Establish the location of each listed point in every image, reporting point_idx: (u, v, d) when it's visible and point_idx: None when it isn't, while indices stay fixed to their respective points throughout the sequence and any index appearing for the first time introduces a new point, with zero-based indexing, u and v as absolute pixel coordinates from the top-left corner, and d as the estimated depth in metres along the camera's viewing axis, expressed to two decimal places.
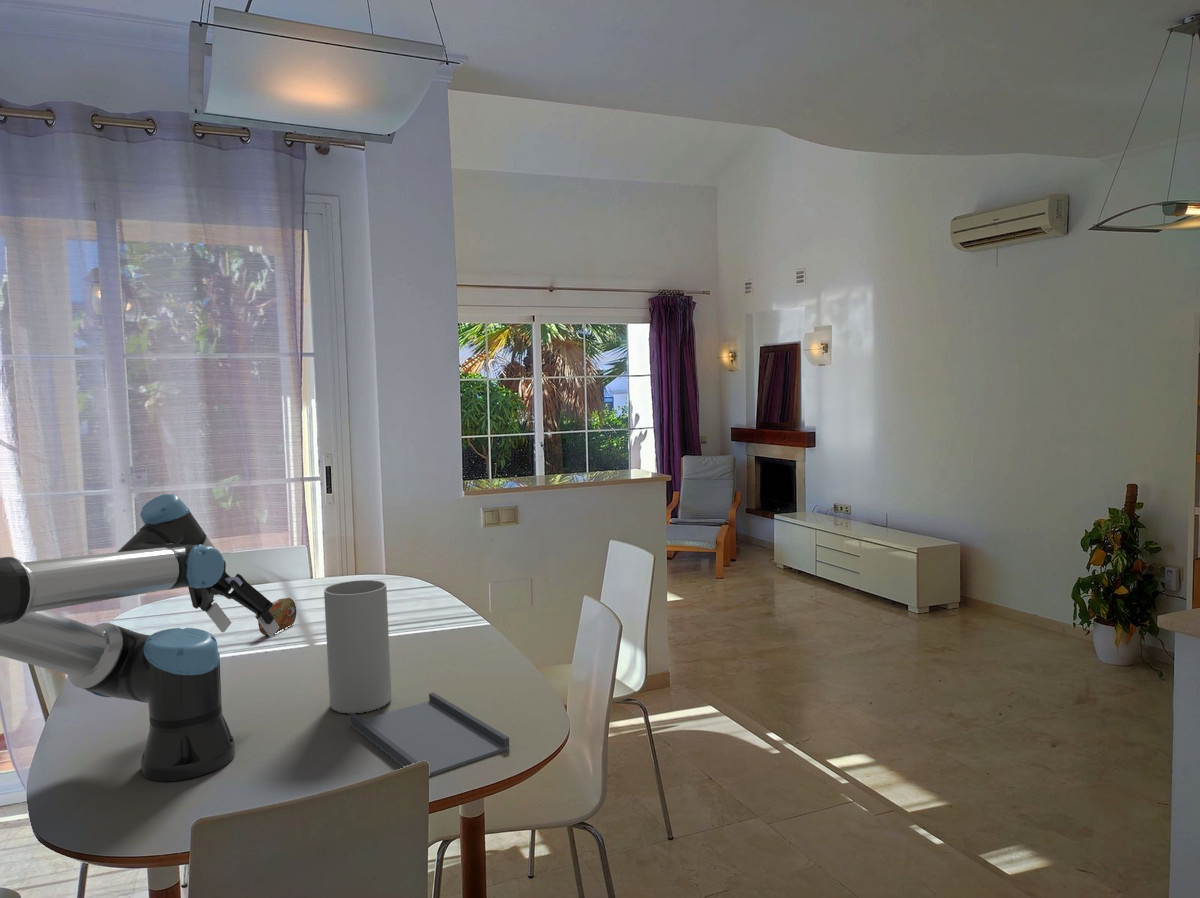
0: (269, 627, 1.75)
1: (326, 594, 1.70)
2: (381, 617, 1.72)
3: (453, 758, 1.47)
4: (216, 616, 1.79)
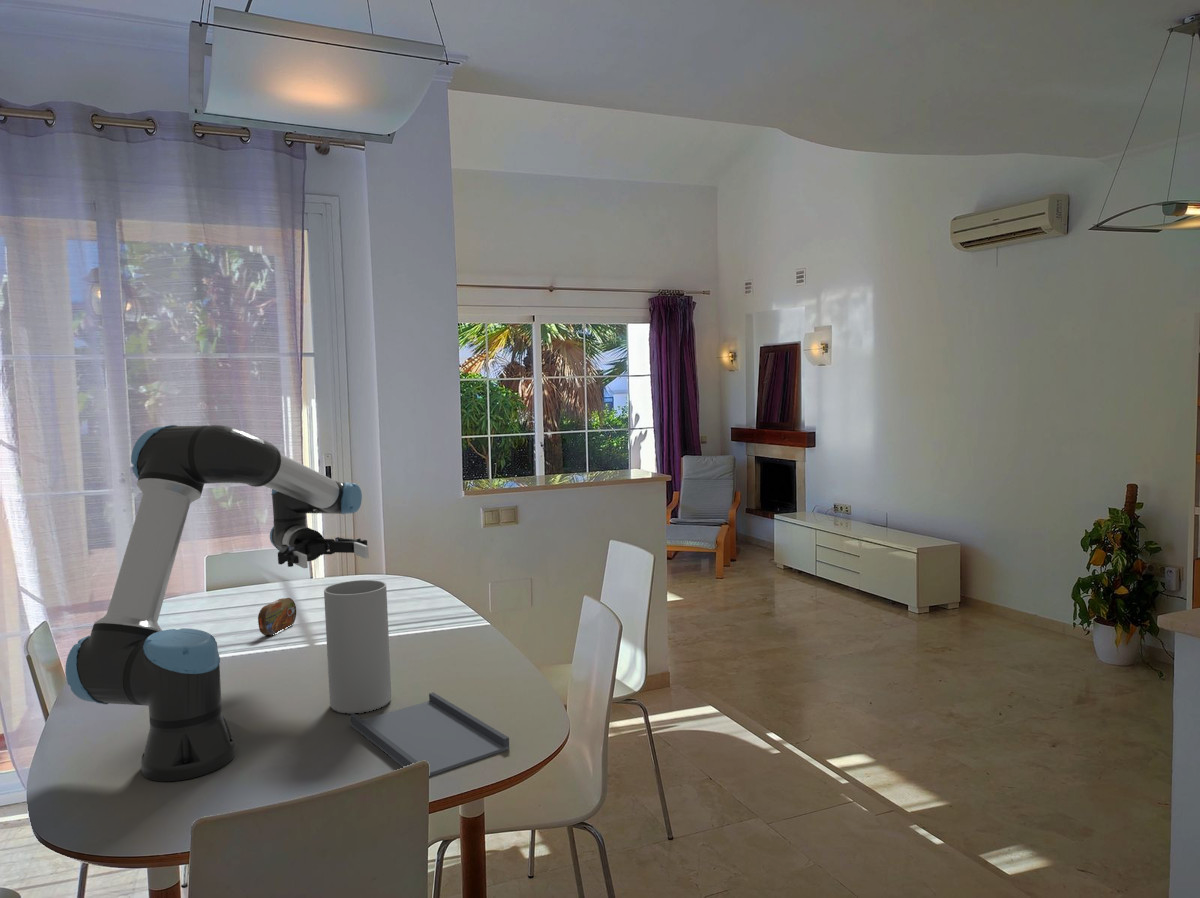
0: None
1: (326, 594, 1.70)
2: (381, 617, 1.72)
3: (453, 758, 1.47)
4: None
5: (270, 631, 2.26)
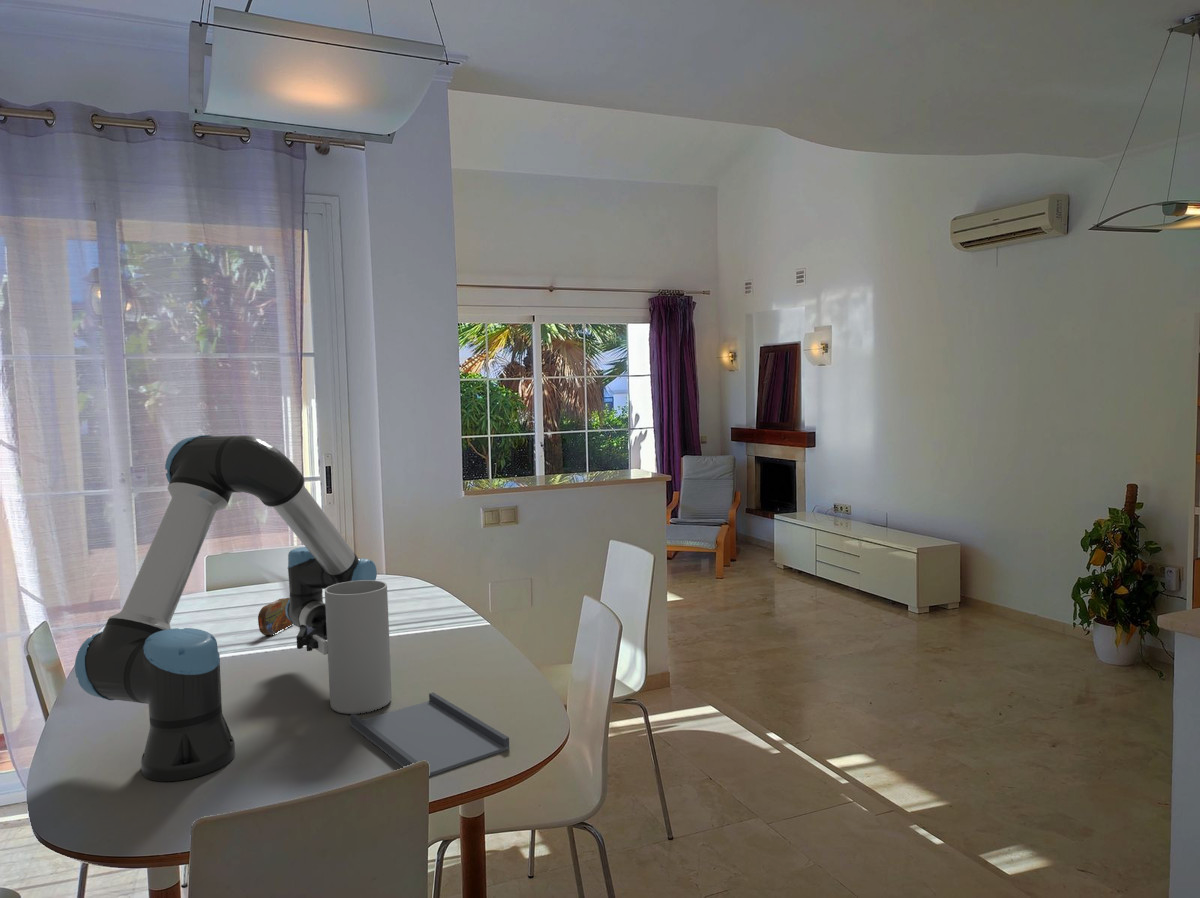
0: None
1: (327, 594, 1.70)
2: (382, 617, 1.72)
3: (453, 758, 1.47)
4: None
5: (270, 631, 2.26)
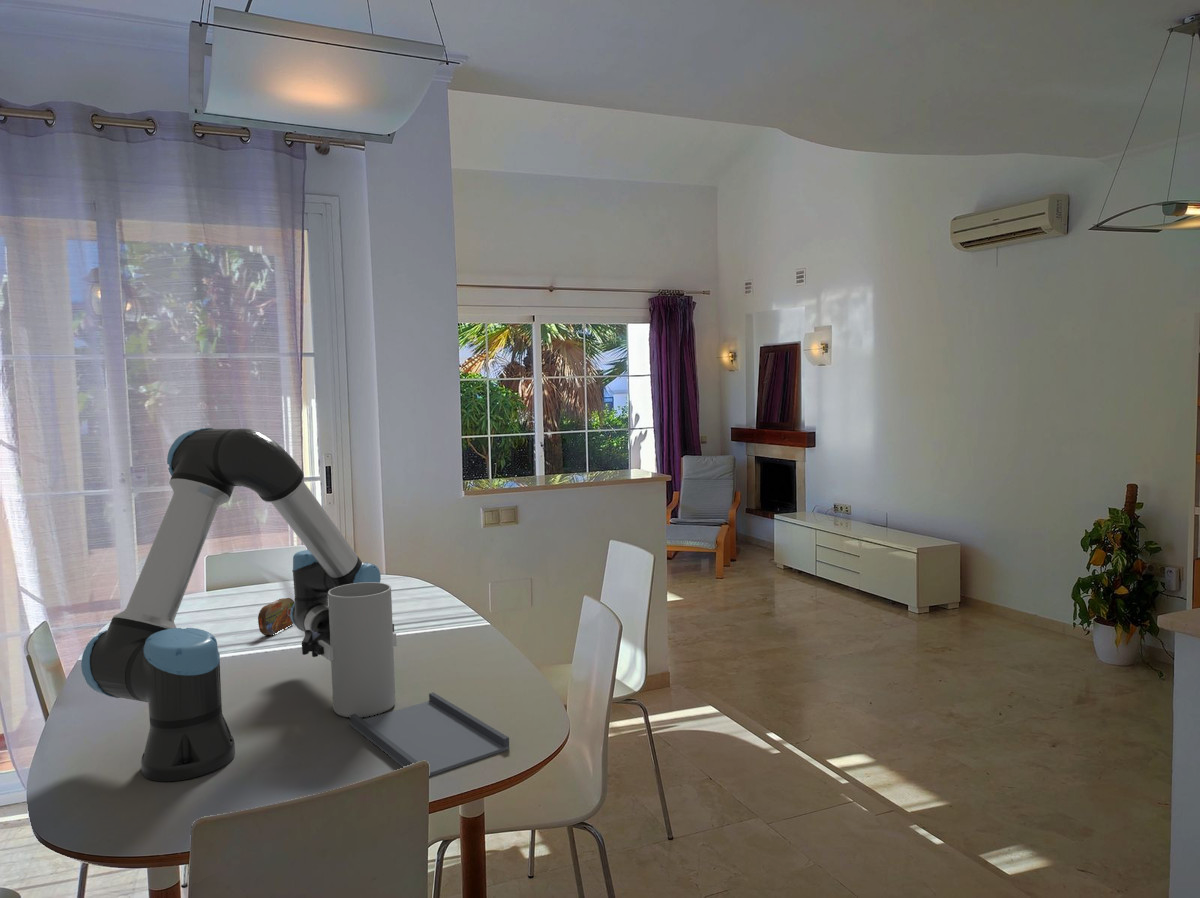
0: None
1: (337, 598, 1.66)
2: (391, 616, 1.72)
3: (453, 758, 1.47)
4: None
5: (270, 631, 2.26)
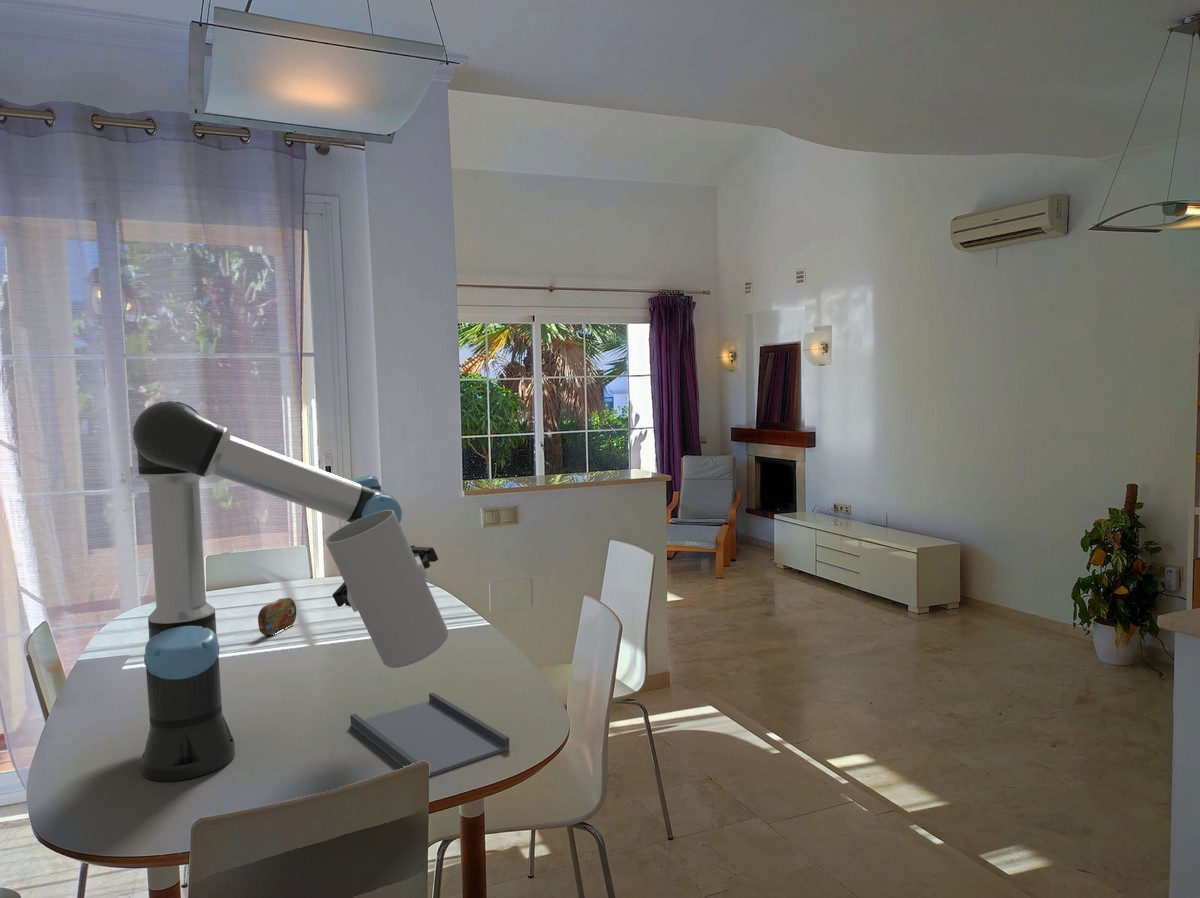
0: (422, 564, 1.50)
1: (329, 545, 1.40)
2: (402, 548, 1.43)
3: (453, 758, 1.47)
4: None
5: (270, 631, 2.26)
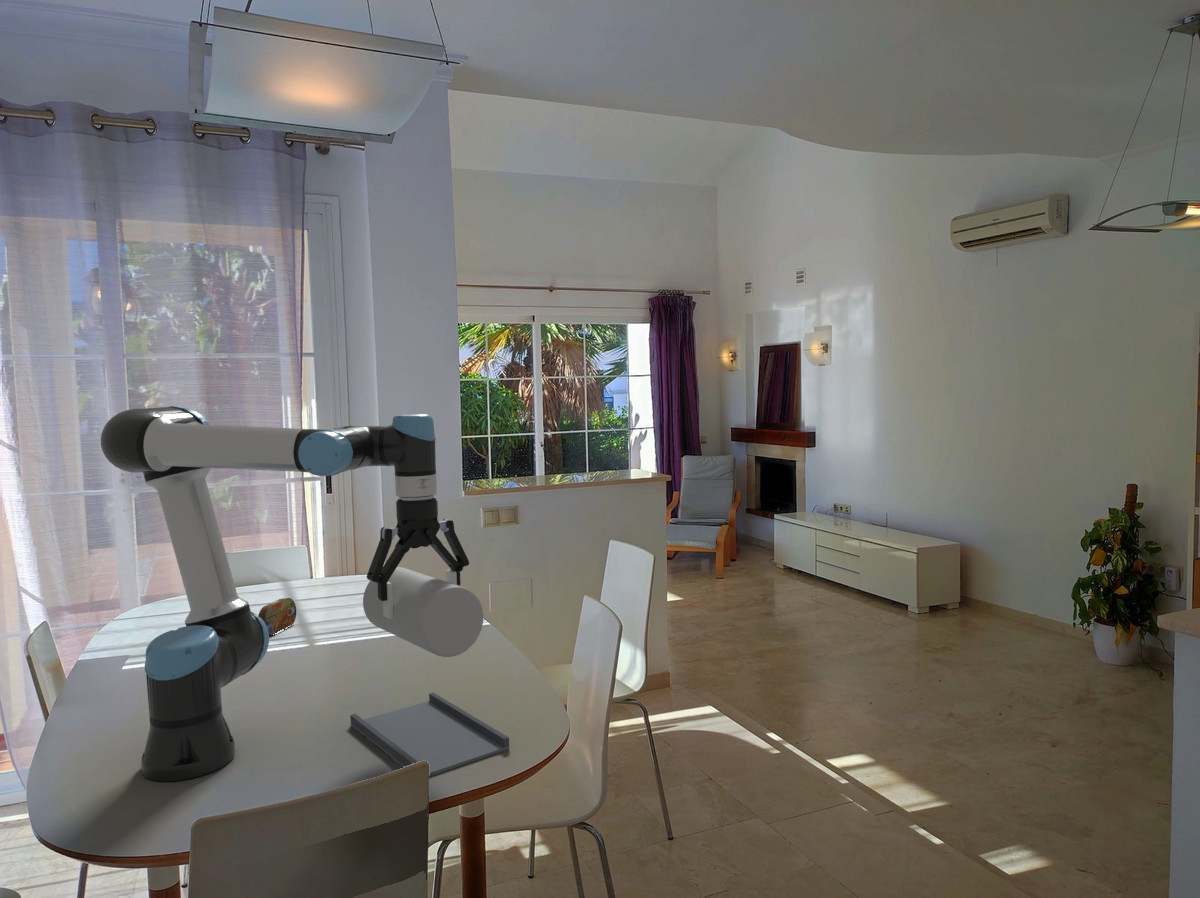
0: (384, 604, 1.52)
1: None
2: (382, 627, 1.58)
3: (453, 758, 1.47)
4: None
5: (270, 631, 2.26)
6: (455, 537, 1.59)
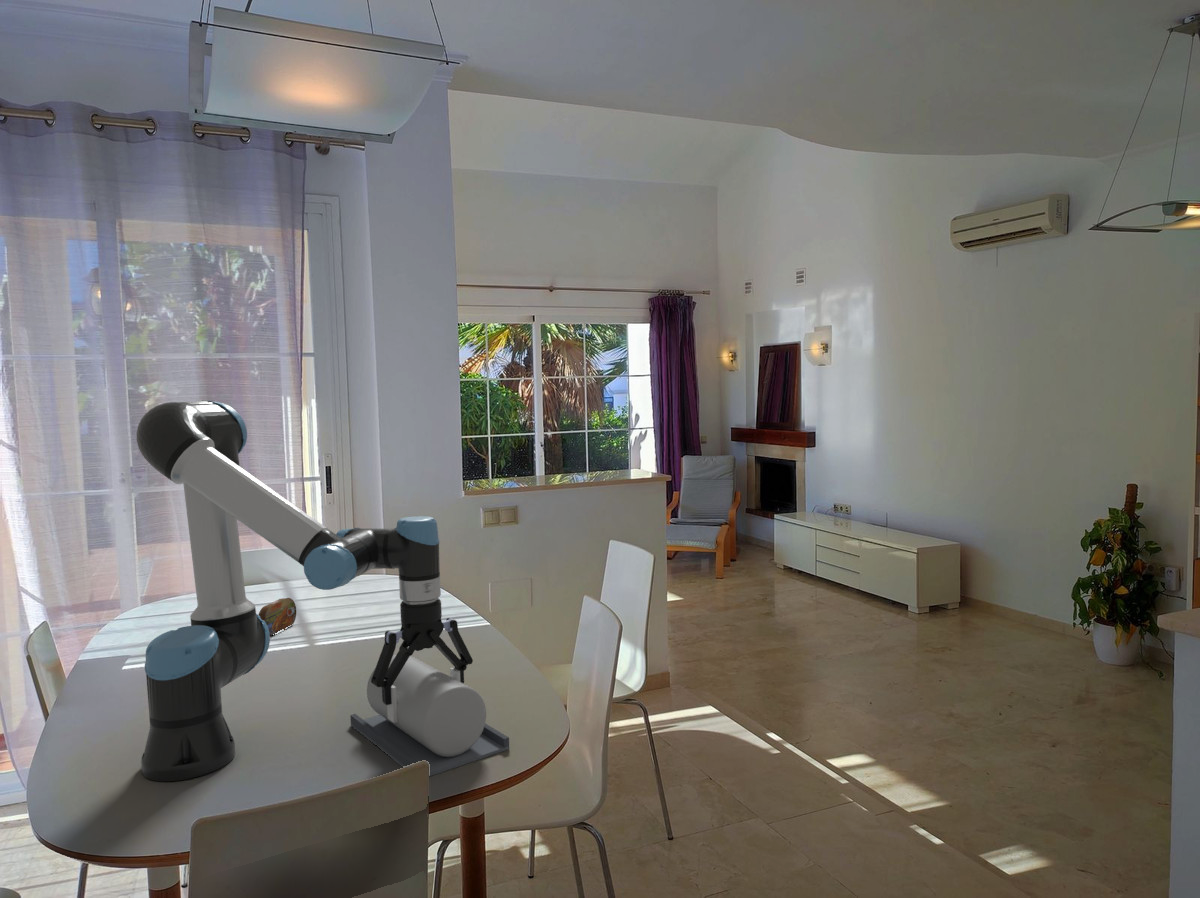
0: (388, 707, 1.53)
1: None
2: (387, 719, 1.59)
3: (453, 758, 1.47)
4: None
5: (270, 631, 2.26)
6: (459, 636, 1.60)
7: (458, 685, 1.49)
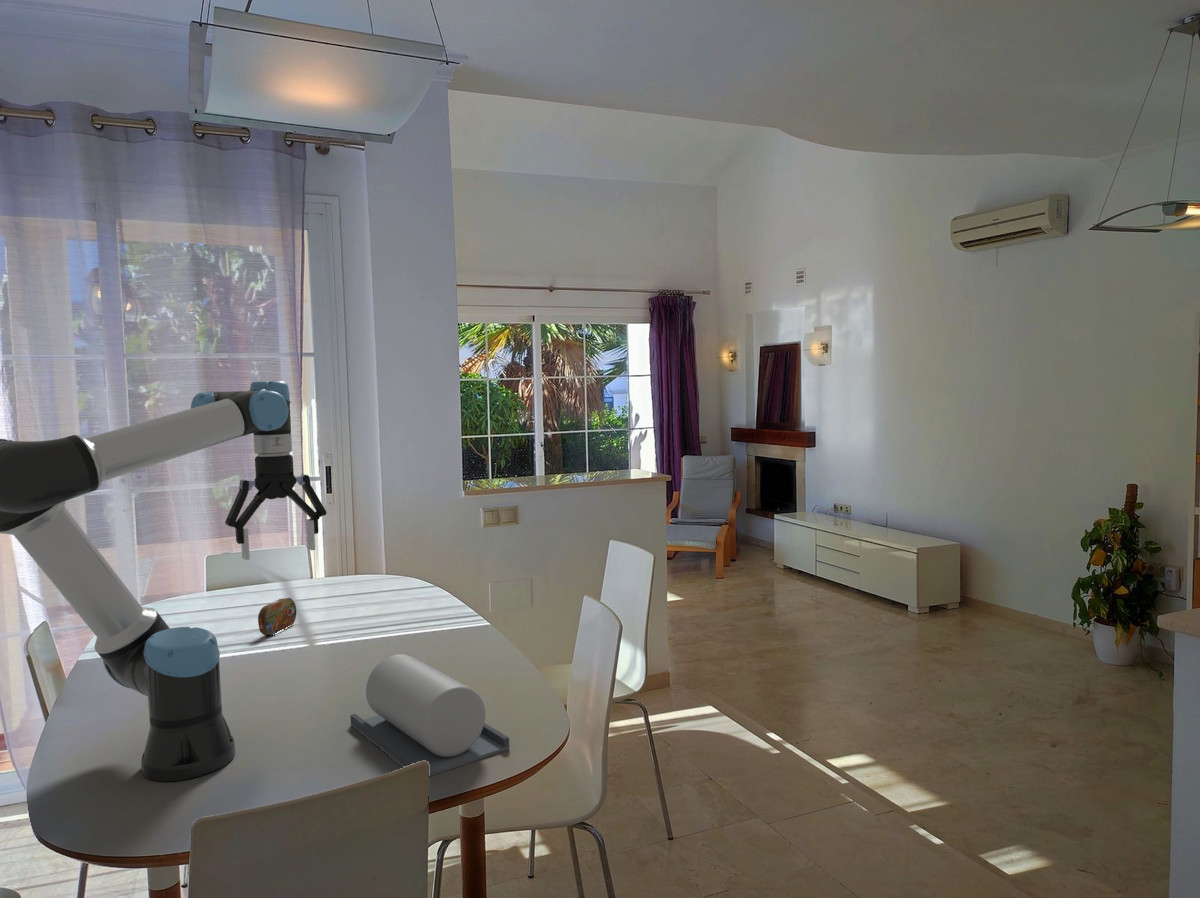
0: (242, 547, 1.73)
1: None
2: (387, 720, 1.59)
3: (453, 758, 1.47)
4: (307, 529, 1.81)
5: (270, 631, 2.26)
6: (311, 490, 1.79)
7: (456, 685, 1.48)
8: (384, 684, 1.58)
